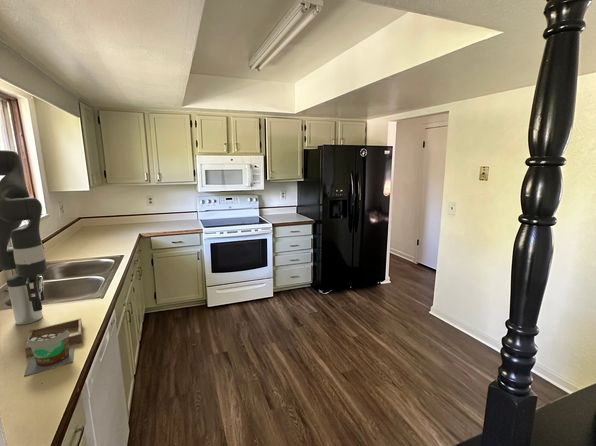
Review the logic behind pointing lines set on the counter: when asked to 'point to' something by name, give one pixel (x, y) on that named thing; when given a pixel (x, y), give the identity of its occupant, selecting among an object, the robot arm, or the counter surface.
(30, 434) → the counter surface
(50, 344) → the food container
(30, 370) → the rubber mat
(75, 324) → the frame
